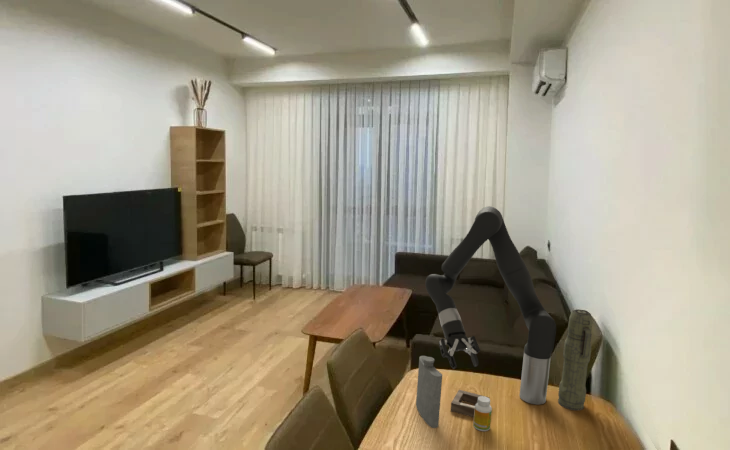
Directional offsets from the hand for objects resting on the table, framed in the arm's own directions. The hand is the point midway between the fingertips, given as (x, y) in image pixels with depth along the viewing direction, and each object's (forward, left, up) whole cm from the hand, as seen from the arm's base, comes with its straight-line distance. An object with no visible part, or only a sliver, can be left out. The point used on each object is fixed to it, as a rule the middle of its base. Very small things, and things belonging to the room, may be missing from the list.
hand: (465, 367), depth 160 cm
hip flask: (+10, -10, -16) cm, 21 cm away
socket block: (-2, +2, -15) cm, 16 cm away
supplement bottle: (+8, +8, -16) cm, 19 cm away
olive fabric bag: (-24, +34, -16) cm, 45 cm away
